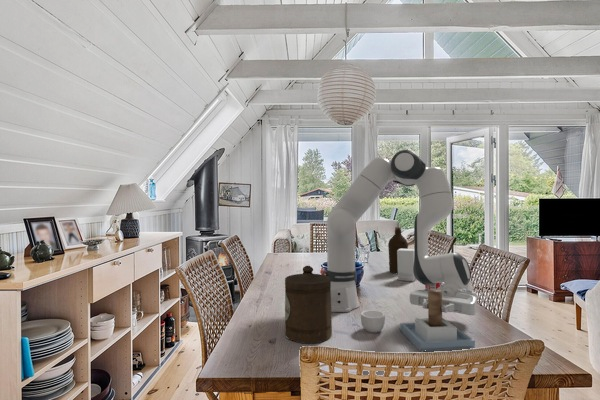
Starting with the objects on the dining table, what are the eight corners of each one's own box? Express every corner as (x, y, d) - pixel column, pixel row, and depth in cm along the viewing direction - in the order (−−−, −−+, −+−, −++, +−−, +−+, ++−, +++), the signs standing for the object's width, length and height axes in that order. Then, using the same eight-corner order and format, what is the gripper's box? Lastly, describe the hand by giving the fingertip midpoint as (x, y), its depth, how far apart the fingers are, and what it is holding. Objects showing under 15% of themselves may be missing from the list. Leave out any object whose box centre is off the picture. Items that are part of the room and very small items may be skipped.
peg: (432, 339, 113) (431, 292, 112) (426, 334, 117) (425, 289, 116) (444, 338, 113) (444, 292, 113) (438, 333, 117) (438, 288, 117)
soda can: (442, 292, 167) (442, 263, 167) (425, 291, 168) (425, 263, 168) (440, 288, 174) (440, 260, 174) (424, 287, 175) (423, 260, 175)
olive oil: (411, 271, 210) (410, 227, 210) (403, 275, 202) (403, 228, 202) (393, 269, 217) (393, 226, 216) (385, 272, 209) (384, 227, 208)
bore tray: (421, 352, 106) (421, 334, 106) (400, 331, 122) (400, 315, 122) (474, 349, 108) (474, 331, 108) (447, 328, 124) (447, 313, 124)
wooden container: (296, 324, 130) (295, 260, 129) (337, 329, 124) (337, 263, 123) (277, 339, 116) (276, 269, 115) (322, 347, 110) (322, 272, 110)
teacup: (382, 336, 118) (382, 319, 118) (358, 332, 121) (358, 316, 121) (388, 325, 127) (388, 309, 127) (365, 322, 130) (365, 307, 130)
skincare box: (417, 279, 192) (417, 249, 192) (413, 282, 187) (413, 250, 186) (400, 277, 197) (400, 247, 196) (396, 280, 191) (396, 249, 191)
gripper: (418, 283, 131) (401, 291, 120) (481, 293, 118) (469, 303, 108) (418, 301, 131) (401, 311, 121) (481, 313, 118) (469, 325, 108)
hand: (434, 307), depth 114 cm, fingers open, 4 cm apart
